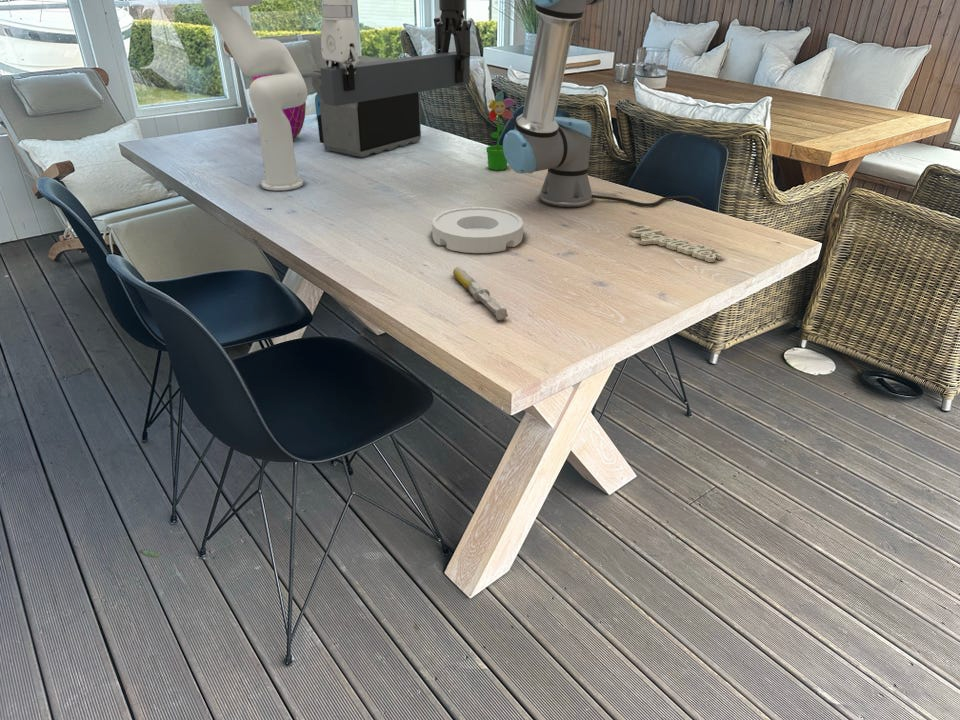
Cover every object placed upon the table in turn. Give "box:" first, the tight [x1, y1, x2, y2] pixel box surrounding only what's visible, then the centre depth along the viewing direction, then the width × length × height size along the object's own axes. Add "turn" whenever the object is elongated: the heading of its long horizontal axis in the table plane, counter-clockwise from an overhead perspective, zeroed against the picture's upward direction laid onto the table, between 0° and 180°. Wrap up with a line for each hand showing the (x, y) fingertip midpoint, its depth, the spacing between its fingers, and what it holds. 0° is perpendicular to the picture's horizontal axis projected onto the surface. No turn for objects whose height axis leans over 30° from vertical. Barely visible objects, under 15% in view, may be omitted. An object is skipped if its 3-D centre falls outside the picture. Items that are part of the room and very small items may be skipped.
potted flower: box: [486, 90, 517, 171], centre depth 227 cm, size 9×8×25 cm
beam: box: [319, 50, 471, 106], centre depth 195 cm, size 51×5×9 cm, turn 137°
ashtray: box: [431, 206, 524, 254], centre depth 175 cm, size 23×23×4 cm
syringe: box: [452, 266, 509, 321], centre depth 145 cm, size 25×4×3 cm, turn 21°
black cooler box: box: [310, 55, 422, 159], centre depth 250 cm, size 37×22×30 cm, turn 144°
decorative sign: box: [630, 224, 722, 263], centre depth 172 cm, size 26×1×10 cm
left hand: (343, 88), depth 183 cm, fingers closed on beam, 5 cm apart
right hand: (452, 81), depth 210 cm, fingers closed on beam, 5 cm apart
